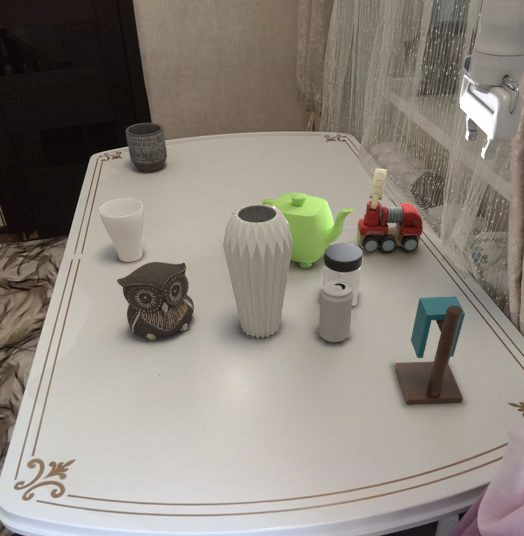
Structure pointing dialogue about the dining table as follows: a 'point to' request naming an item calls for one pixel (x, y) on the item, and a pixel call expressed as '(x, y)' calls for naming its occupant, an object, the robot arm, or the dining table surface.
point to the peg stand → (433, 368)
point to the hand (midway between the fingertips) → (478, 148)
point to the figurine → (157, 299)
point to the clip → (425, 313)
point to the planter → (147, 146)
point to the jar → (343, 265)
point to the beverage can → (335, 310)
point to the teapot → (309, 225)
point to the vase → (258, 265)
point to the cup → (124, 226)
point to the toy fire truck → (376, 218)
